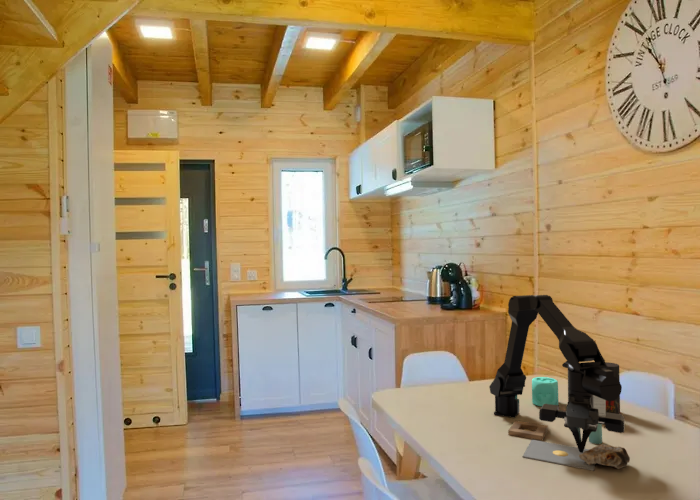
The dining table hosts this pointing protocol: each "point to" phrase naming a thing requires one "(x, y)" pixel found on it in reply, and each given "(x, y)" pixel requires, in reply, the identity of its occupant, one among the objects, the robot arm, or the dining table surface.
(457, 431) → the dining table surface
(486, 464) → the dining table surface
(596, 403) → the supplement box
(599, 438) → the peg
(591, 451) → the rock
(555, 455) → the card
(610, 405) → the deodorant
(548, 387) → the decorative dice
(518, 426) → the brown square frame
